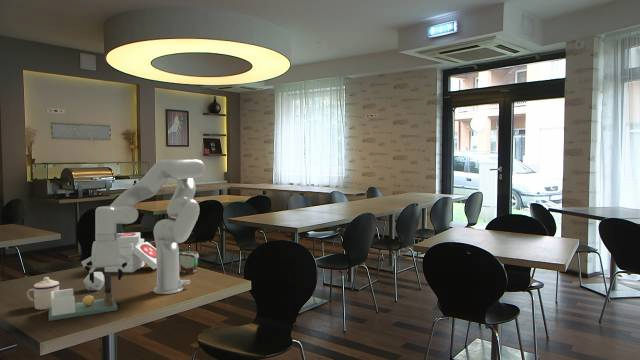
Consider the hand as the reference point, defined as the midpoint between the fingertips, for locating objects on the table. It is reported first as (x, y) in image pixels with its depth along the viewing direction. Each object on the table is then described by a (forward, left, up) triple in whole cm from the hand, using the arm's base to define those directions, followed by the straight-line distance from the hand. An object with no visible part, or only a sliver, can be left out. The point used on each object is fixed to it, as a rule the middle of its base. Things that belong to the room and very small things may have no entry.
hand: (106, 280), depth 184 cm
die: (+2, -30, -11) cm, 32 cm away
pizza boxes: (-20, -63, -11) cm, 67 cm away
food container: (-44, -41, -11) cm, 61 cm away
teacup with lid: (+22, -14, -11) cm, 28 cm away
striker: (-1, 0, -9) cm, 9 cm away
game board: (+8, 0, -10) cm, 13 cm away
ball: (+6, 0, -7) cm, 9 cm away
